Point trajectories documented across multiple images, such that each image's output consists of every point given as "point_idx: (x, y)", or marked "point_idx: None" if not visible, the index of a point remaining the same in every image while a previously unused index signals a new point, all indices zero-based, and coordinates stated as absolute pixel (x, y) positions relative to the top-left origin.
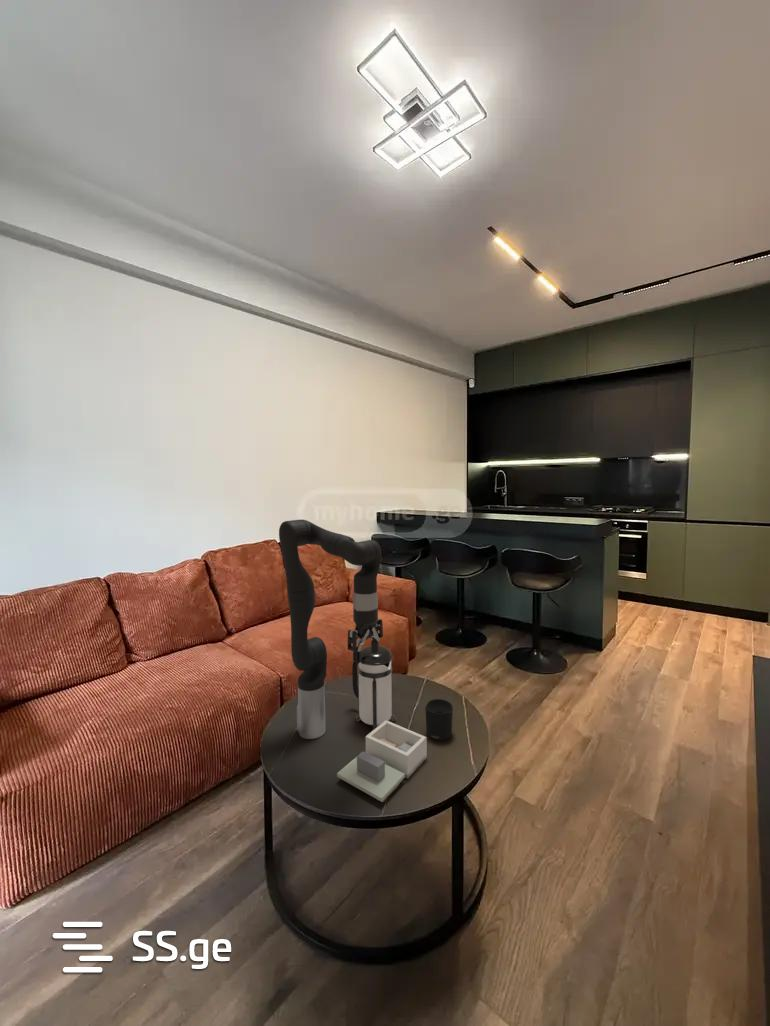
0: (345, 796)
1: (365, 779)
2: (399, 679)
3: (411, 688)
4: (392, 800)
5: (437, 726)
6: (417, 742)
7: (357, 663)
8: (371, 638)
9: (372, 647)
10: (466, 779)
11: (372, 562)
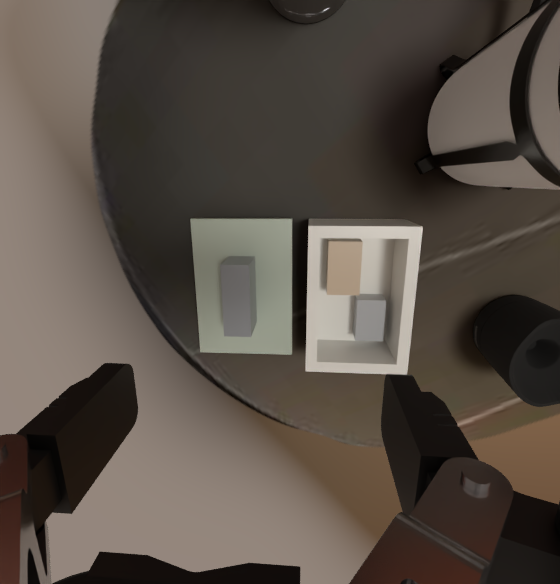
0: (178, 263)
1: (220, 291)
2: None
3: None
4: None
5: (490, 360)
6: (371, 365)
7: None
8: (429, 494)
9: (397, 414)
10: (375, 441)
11: None
